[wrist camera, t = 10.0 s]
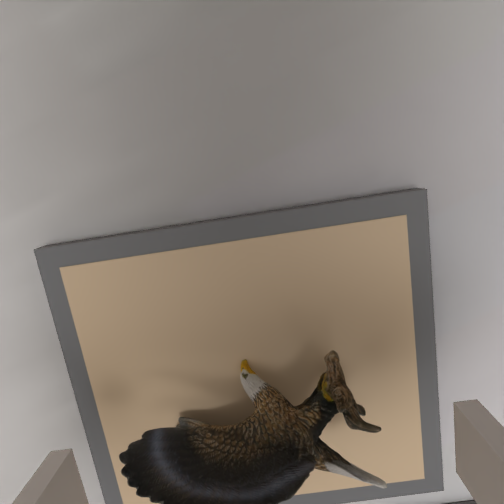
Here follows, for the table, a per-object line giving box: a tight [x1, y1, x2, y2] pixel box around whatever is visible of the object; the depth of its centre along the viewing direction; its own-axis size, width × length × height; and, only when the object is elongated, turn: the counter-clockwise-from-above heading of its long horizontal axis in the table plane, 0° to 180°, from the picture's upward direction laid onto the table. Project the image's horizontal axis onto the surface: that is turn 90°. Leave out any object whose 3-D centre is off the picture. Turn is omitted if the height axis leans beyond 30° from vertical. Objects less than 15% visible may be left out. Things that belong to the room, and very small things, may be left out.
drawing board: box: [34, 188, 444, 504], centre depth 19 cm, size 18×16×1 cm
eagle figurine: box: [119, 350, 387, 504], centre depth 15 cm, size 8×7×9 cm
